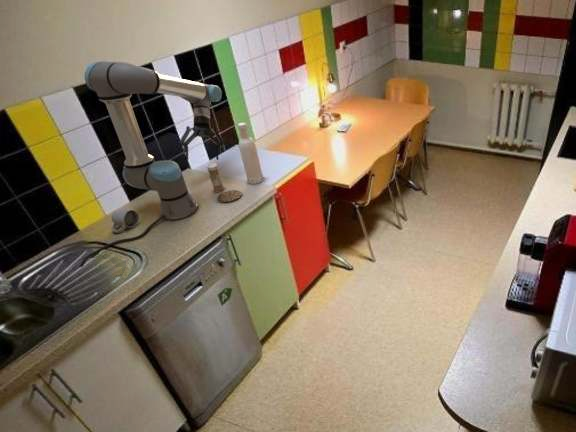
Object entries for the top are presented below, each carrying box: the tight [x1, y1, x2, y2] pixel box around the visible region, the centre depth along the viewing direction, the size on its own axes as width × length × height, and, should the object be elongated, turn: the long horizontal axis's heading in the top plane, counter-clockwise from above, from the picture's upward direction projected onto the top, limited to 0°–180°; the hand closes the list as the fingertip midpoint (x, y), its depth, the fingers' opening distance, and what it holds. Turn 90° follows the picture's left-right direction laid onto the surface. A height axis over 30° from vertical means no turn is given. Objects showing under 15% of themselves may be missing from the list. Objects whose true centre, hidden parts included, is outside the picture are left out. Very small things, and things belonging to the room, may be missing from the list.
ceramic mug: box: [111, 208, 140, 234], centre depth 179 cm, size 11×8×8 cm
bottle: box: [237, 122, 264, 185], centre depth 204 cm, size 8×8×30 cm
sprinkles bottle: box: [206, 163, 225, 193], centre depth 202 cm, size 5×5×14 cm
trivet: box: [217, 189, 243, 204], centre depth 199 cm, size 11×11×1 cm
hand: (202, 158), depth 203 cm, fingers open, 13 cm apart
